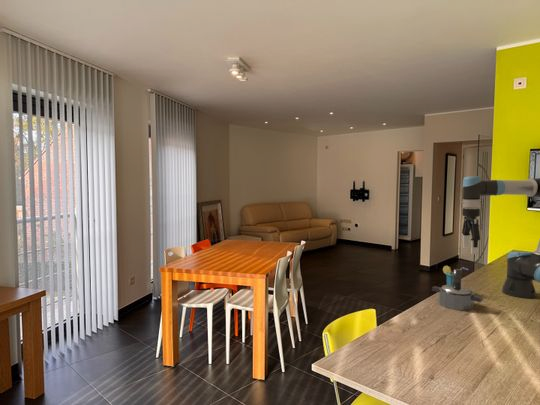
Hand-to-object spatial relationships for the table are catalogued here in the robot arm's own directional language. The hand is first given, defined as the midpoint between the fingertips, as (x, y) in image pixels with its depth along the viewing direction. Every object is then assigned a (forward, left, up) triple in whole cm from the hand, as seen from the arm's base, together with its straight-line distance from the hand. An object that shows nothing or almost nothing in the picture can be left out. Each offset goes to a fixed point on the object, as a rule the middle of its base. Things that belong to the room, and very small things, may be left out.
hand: (470, 251), depth 181 cm
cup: (+2, -17, -27) cm, 32 cm away
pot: (+6, +4, -26) cm, 27 cm away
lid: (+6, +4, -19) cm, 21 cm away
